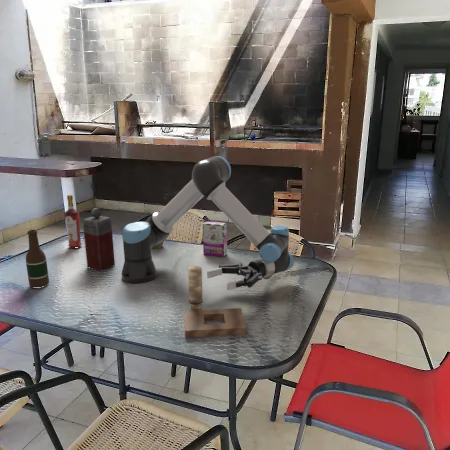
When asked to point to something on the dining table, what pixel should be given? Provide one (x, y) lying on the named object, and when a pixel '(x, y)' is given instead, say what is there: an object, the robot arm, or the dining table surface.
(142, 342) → the dining table surface
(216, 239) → the candy bar box
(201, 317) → the walnut board
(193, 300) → the birch peg
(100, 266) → the red square decanter
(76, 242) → the liquor
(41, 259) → the beer bottle
